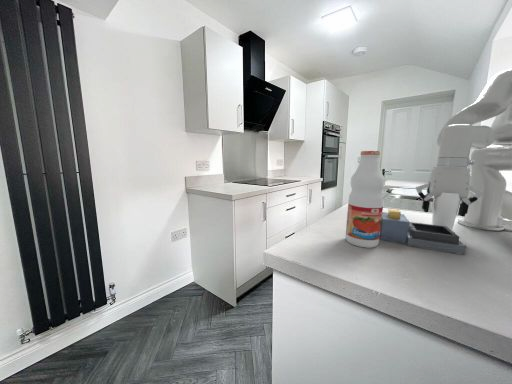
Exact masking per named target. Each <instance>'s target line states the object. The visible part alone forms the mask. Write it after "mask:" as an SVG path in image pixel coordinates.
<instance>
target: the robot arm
mask: <svg viewBox="0 0 512 384" xmlns="http://www.w3.org/2000/svg"><path fill="white" fill-rule="evenodd" d="M492 118H494V119H493V122H492V124H491V126H489V125H488V126H487V125H476V124H477V123H482V122H484V121H488V120H489V119H492ZM436 144H437V146H438V147H439V150H438V157H437V160H436V161H437V163H436V166H433V168H432V169H431V172H430V175H429V179H428V182H426V183H424V184H421V185H418V186H416V187H415V190H416V192H417V195H418V196H419V198H421V199H422V205H421V209H422V210H423V212H424V213H428V212H429V209H430V204H431V203H430V199H431V198H434V196H438V197H439V196H441V194H442V193H458V194H459V198H460V204H459V208H458V212H457V214H458V215H459V216H461V217H463V218H458V220H457V223H458V224H461V225H462V226H466V227H469V228H475V229H479V230H485V231H486V230H487V231H495V232H496V231H498V232H499V231H503V230H505V225H509V226H512V219H509V218H504V217H503V216H501V214H502V208H503V203H504V199H505V194H506V190H507V189H506V188H507V180H506V178H505V177H504V175H503V174H502V173H501V171H506V172H507V171H509V172H512V68H509V69H506V70H502V71H499V72H498V73H496V74H494V76H492V77H491V78H490V79H489V81H488V82H487V84H486V85H485V87H484V88H483V90H482V91H481V93H480V95H479V96H478V98H477V99H476V101H475V102H473V103H472V104H471V105H468V106H467V107H465V108H463V109H462V110H460V111H459V112H457V113H456V114H454V115H452V116H451V117H450V118H449V119H448V120H447V121H446V122H445V124H444V125H443V126H442V128H441V129H440V131H439V134H438V135H437V139H436ZM471 150H473V151H472V153H471ZM470 153H471V156H470ZM470 165H471V166H470ZM469 166H470V167H471V170H470V168H468V167H469ZM424 189H426V193H425V194H424V193H423V190H424Z"/></svg>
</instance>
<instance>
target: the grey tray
mask: <svg viewBox="0 0 512 384" xmlns="http://www.w3.org/2000/svg"><path fill="white" fill-rule="evenodd" d="M460 237H461V236H459V235H458V234H456V232H454V231H453V230H452V231H451V230H450V229H449V228H448V227H447V226H439V225H432V224H429V223H421V222H414V221H413V222H411V221H409V219H408V218H407V217H406V215H405V214H403V213H402V212H401V211H400V210H399V209H393V208H388V211H387V212H385V211H384V212H383V211H382V220H381V229H380V238H379V241H380V240H381V241H386V242H393V243H397V244H405V245H407V247H414V248H419V249H426V250H432V251H439V252H443V253H444V252H445V253H449V254H457V255H462V256H465V255H466V250H467V245H466V244H464V243H463V242H462V241H461V240H460Z"/></svg>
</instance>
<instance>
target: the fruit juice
mask: <svg viewBox="0 0 512 384" xmlns="http://www.w3.org/2000/svg"><path fill="white" fill-rule="evenodd" d="M380 154H381V152H380V151H379V150H362V151H360V157H361V159H360V162H359V164H358V166H357V169H356V170H355V172H354V173H353V174H352V176H351V178H350V186H351V187H350V188H351V191H350V193H349V196H348V202H347V204H348V205H347V214H346V215H347V216H346V226H345V241H346V242H347V243H349V244H350V245H354V246H356V247H360V248H368V249H369V248H372V249H373V248H376V247H378V245H379V243H380V229H381V220H382V212H383V210H384V195H383V190H384V188H385V185H386V179H385V176H384V174H383V172H382V170H381V167H380V164H379V158H380Z"/></svg>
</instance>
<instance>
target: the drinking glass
mask: <svg viewBox="0 0 512 384" xmlns="http://www.w3.org/2000/svg"><path fill="white" fill-rule="evenodd" d="M460 204H461V200H460V198H459V194H458V193H442V194H441V196H439V197H438V196H433V201H432V218H431V219H432V220H431V221H432V222H431V225H439V226H447V227H448V228H449V229H450V230H451V231H453V228H454V225H455V222H456V221H455V220H456V218H457V214H458V213H459V208H460Z"/></svg>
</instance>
